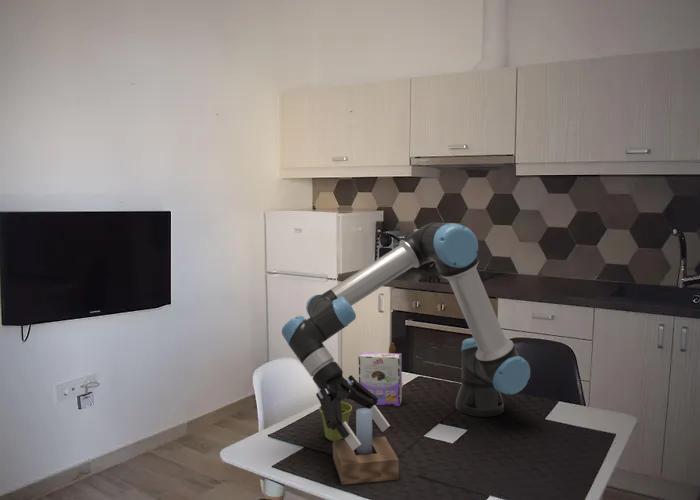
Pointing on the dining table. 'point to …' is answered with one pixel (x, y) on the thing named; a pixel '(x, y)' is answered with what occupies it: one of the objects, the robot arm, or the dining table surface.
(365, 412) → the dowel
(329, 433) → the plant pot
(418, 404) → the dining table surface
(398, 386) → the candy box
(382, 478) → the bore block
